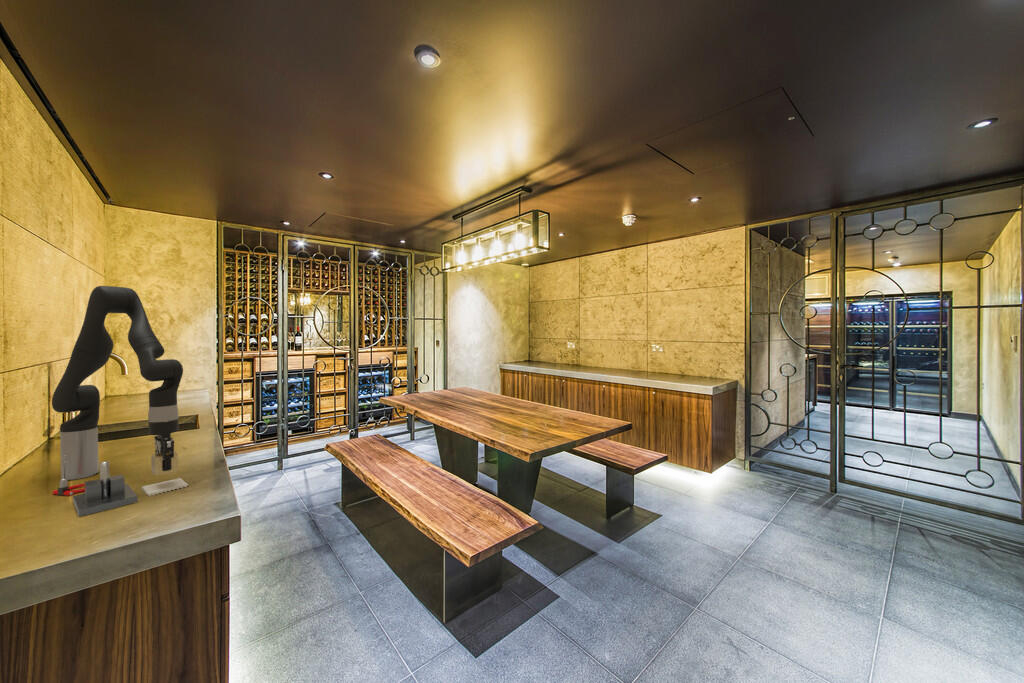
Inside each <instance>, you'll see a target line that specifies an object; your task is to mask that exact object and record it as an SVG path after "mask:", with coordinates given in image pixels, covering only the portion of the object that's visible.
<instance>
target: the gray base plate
mask: <svg viewBox="0 0 1024 683" xmlns="http://www.w3.org/2000/svg"><path fill="white" fill-rule="evenodd" d="M83 484H85V487H84V488H85V492H84V493H80V494H74V495H72V502H73V505H74V508H75V511H76V513H77V516H78V517H79V518H81V517H85V516H89V515H93V514H97V513H100V511H101V512H104V510H105V511H108V509H109V510H112V508H113V509H116V507H117V508H120V506H121V507H124V505H125V506H127V504H129V505H132V504H131V503H133V504H135V503H134V502H137V503H138V495H137V493H135V492H134V490H133V489H132V488H131V486H129V484H128V483H126V484H125V477H124V475H123V474H121V473H120V474H118V475H112V476H110V461H109V460H107V461H106V460H105V461H101V462H99V478H97V479H93V480H88V481H84V483H83ZM96 512H97V513H96ZM92 513H93V514H92ZM84 515H85V516H84ZM80 516H81V517H80Z"/></svg>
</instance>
